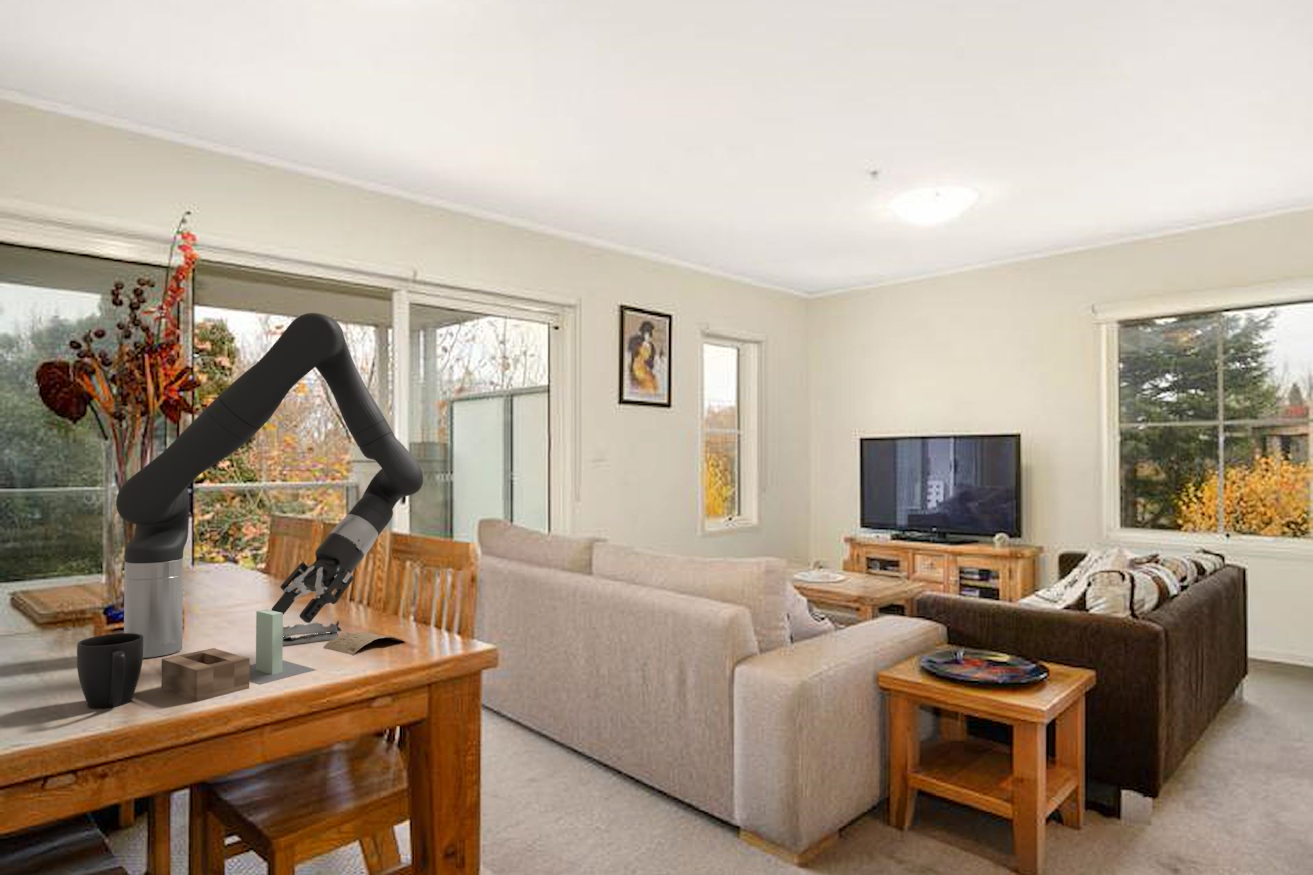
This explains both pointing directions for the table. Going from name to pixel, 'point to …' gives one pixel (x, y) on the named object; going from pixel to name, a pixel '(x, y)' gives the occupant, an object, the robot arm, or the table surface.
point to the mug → (109, 668)
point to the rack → (205, 674)
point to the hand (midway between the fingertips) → (289, 616)
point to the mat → (287, 671)
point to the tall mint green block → (269, 641)
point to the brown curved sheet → (353, 641)
